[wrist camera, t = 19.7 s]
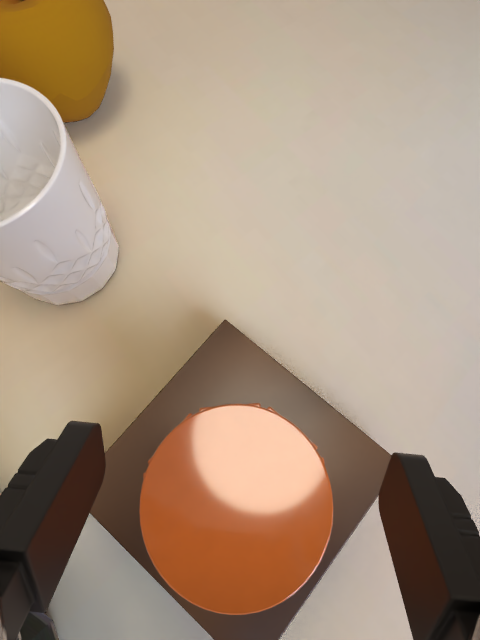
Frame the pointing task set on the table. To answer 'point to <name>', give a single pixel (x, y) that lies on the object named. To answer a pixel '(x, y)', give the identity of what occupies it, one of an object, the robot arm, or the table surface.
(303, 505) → the orange cup
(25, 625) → the decorative bowl
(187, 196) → the table surface
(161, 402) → the cup stand
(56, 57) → the apple
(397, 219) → the table surface
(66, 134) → the white cup
